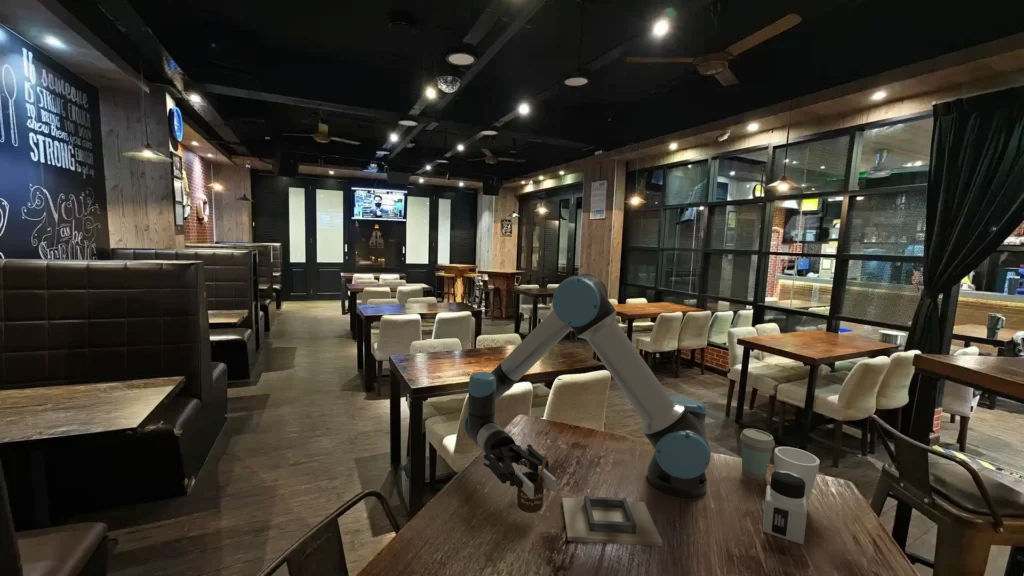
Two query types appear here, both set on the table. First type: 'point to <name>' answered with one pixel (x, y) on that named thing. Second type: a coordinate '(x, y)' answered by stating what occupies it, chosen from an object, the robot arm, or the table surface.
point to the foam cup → (798, 465)
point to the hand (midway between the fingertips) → (543, 488)
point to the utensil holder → (536, 502)
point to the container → (785, 507)
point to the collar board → (609, 521)
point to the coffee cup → (756, 452)
